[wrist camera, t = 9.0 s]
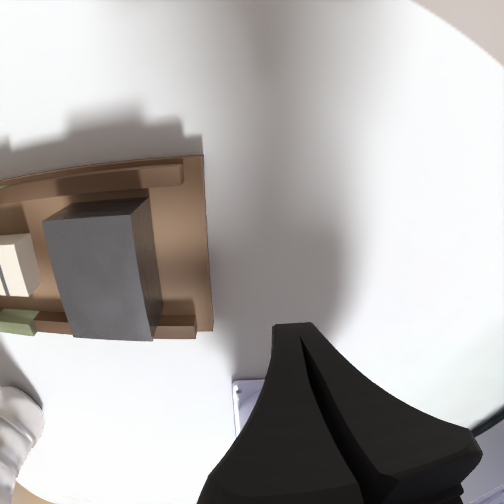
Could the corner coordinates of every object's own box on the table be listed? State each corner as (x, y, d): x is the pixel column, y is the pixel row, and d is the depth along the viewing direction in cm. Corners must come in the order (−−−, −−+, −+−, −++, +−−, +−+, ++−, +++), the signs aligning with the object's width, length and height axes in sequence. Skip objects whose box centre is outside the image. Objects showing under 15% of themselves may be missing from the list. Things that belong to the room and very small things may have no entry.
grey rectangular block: (163, 306, 19) (152, 341, 16) (93, 305, 19) (73, 337, 16) (149, 196, 17) (130, 214, 13) (71, 203, 16) (41, 221, 13)
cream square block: (42, 282, 18) (28, 297, 16) (4, 281, 18) (-11, 295, 16) (30, 232, 17) (13, 244, 15) (-8, 236, 17) (-25, 247, 15)
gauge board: (213, 322, 21) (209, 386, 16) (-7, 313, 20) (-43, 353, 15) (203, 154, 17) (188, 170, 12) (-41, 190, 16) (-92, 214, 11)
